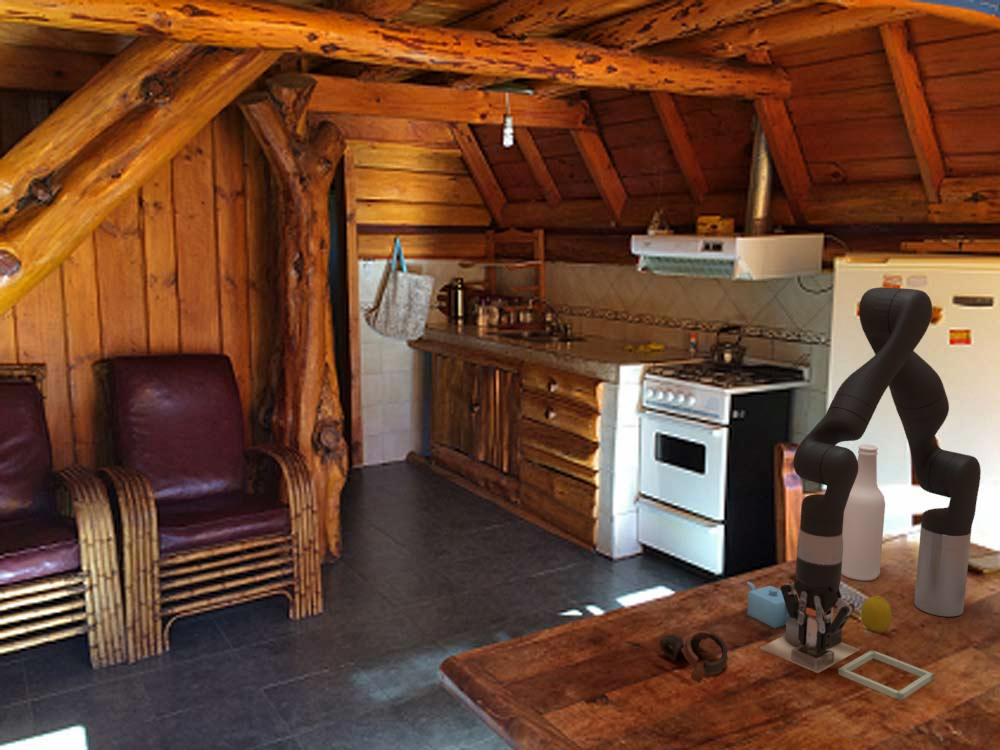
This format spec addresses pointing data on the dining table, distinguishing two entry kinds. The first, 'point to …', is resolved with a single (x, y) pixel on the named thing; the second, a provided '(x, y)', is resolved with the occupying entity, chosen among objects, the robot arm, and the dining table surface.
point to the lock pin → (812, 633)
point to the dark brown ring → (687, 648)
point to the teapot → (767, 606)
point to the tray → (898, 695)
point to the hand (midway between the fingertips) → (813, 646)
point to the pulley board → (795, 651)
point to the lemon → (876, 614)
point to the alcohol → (863, 521)
